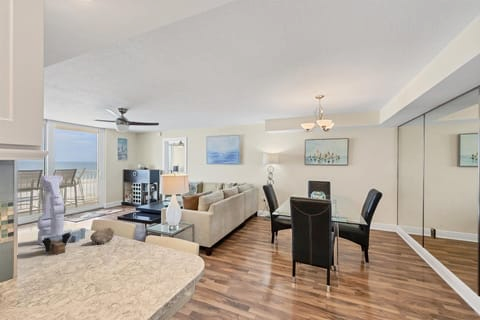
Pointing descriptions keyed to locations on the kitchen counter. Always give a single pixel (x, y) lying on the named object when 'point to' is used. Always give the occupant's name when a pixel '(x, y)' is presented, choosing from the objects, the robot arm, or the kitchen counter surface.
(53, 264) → the kitchen counter surface
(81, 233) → the blue-grey stepped platform
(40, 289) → the kitchen counter surface
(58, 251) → the brown block
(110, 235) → the coral
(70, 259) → the kitchen counter surface
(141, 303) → the kitchen counter surface
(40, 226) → the robot arm
